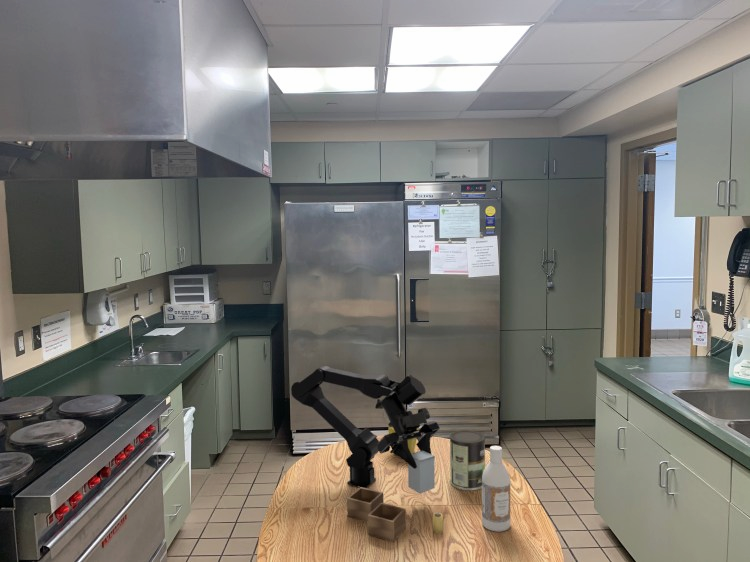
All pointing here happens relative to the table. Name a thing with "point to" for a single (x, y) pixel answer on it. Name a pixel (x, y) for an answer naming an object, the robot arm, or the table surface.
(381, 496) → the box
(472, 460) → the coffee can
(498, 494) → the bath foam
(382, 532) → the box
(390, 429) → the plant pot
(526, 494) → the table surface
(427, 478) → the pale grey square pillar
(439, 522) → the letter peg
